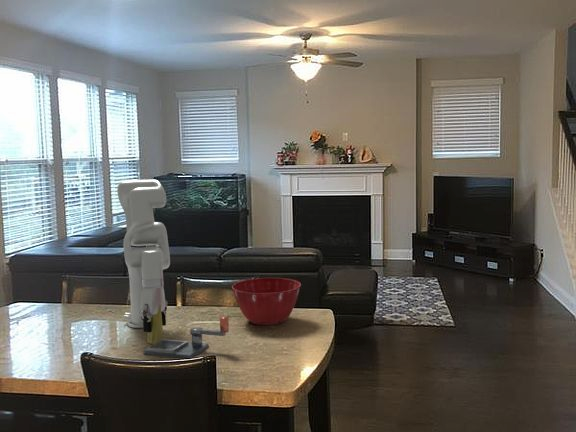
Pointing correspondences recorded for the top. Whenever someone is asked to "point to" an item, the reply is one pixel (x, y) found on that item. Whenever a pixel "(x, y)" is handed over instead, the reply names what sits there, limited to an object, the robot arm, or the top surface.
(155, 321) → the vase
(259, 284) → the mixing bowl
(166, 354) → the bed
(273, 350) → the top surface
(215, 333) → the lever
